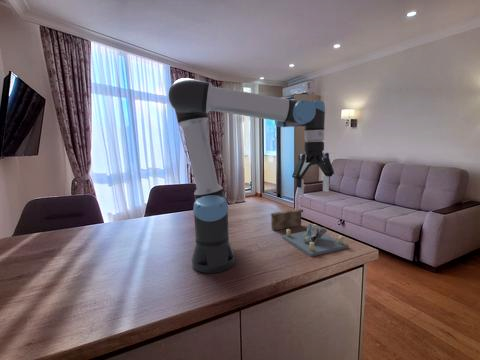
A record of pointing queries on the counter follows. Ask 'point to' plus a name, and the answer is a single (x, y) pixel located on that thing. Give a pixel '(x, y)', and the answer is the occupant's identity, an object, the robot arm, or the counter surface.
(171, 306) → the counter surface
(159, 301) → the counter surface
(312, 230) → the mineral specimen
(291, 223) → the panel
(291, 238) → the base
